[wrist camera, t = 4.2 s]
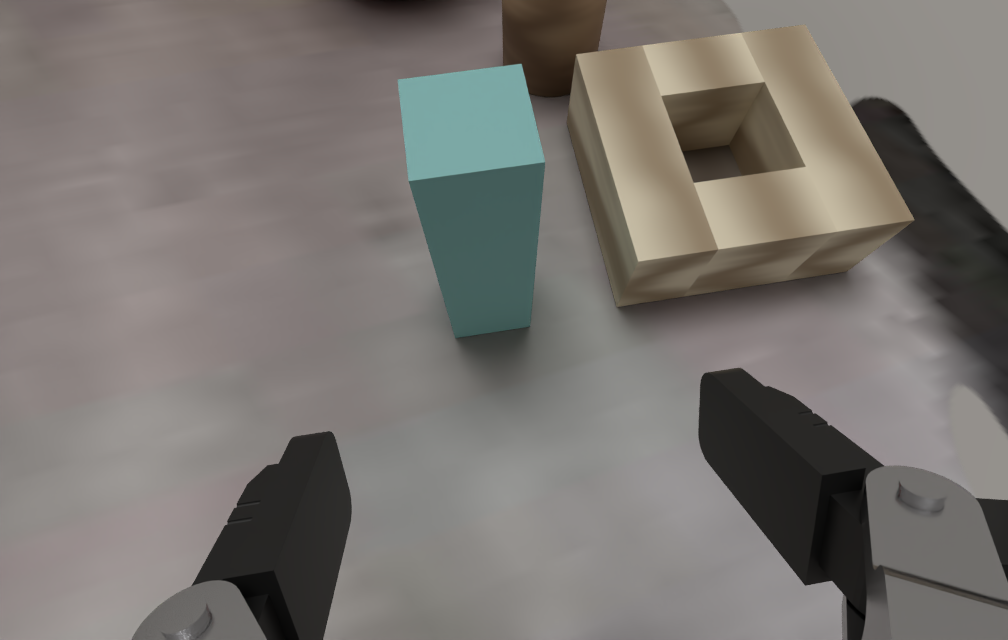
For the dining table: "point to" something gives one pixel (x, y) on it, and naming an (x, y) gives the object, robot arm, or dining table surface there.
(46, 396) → the dining table surface
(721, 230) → the socket block
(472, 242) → the square peg
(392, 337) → the dining table surface
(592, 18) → the tan cylinder
